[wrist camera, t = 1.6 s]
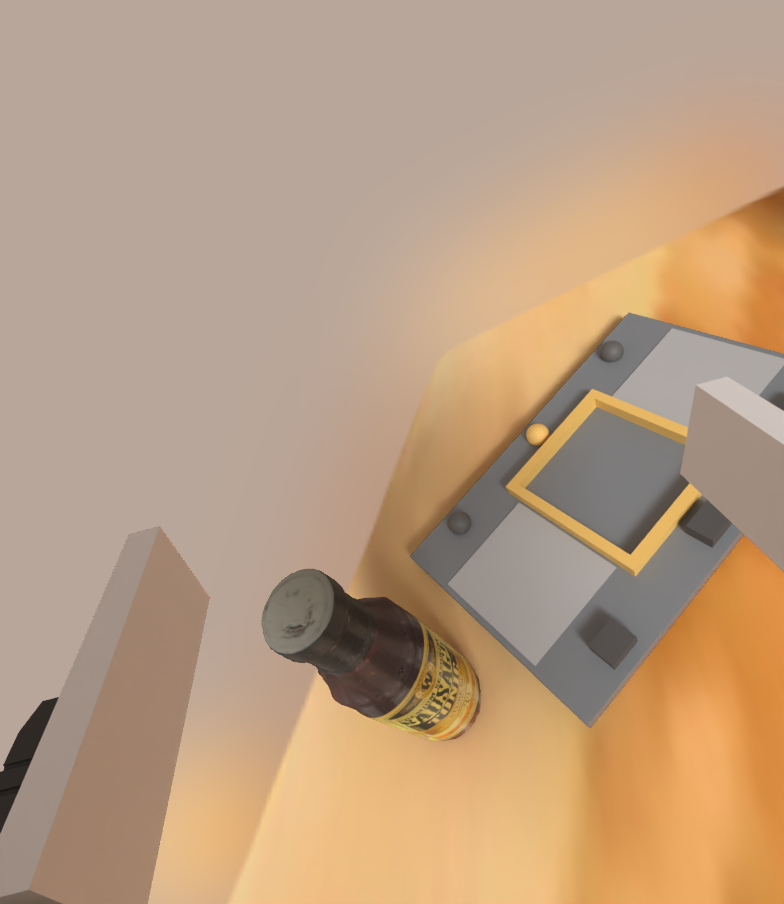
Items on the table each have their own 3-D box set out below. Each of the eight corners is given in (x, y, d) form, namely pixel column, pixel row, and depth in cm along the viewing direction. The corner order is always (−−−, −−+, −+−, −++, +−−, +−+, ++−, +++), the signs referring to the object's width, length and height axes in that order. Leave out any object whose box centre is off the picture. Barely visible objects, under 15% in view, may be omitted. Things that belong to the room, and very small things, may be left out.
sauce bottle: (467, 761, 33) (302, 728, 19) (394, 717, 37) (211, 662, 23) (499, 667, 36) (375, 573, 21) (428, 635, 39) (281, 537, 25)
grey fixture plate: (630, 324, 47) (627, 301, 45) (859, 388, 35) (870, 362, 33) (416, 562, 43) (403, 550, 41) (590, 728, 31) (583, 722, 29)
